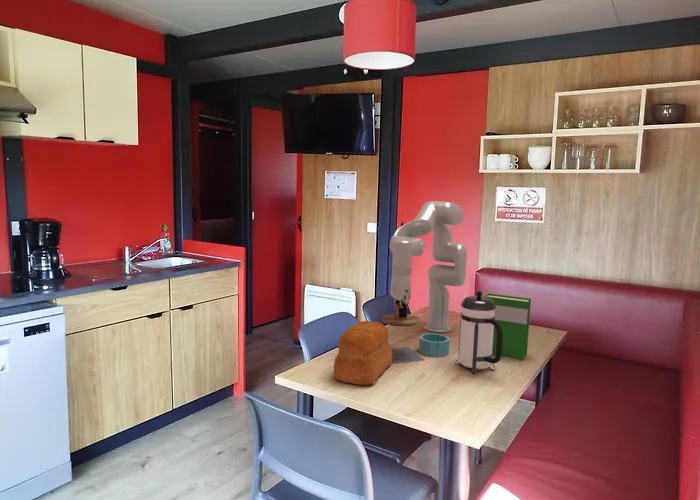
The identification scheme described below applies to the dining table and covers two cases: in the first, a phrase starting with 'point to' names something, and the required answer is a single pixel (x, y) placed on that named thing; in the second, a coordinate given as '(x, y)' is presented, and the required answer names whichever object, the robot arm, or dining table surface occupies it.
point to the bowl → (434, 345)
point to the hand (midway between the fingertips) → (400, 315)
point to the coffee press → (478, 333)
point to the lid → (396, 321)
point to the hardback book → (512, 324)
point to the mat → (404, 355)
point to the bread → (363, 353)
